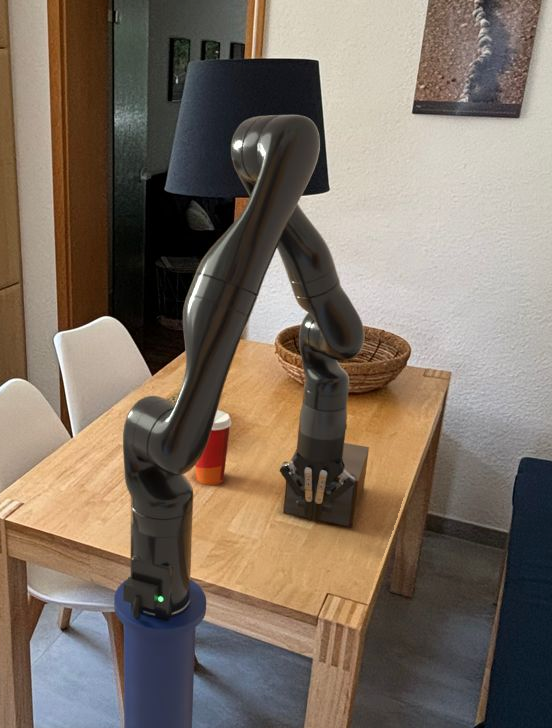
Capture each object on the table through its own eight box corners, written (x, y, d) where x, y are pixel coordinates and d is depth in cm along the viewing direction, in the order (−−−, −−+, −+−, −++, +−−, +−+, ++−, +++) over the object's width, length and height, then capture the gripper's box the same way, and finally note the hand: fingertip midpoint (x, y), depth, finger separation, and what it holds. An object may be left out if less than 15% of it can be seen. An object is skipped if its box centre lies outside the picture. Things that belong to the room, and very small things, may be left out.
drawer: (344, 539, 134) (349, 500, 131) (279, 525, 139) (282, 487, 136) (359, 491, 150) (363, 455, 147) (300, 480, 154) (303, 445, 151)
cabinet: (352, 527, 139) (358, 481, 136) (283, 513, 144) (286, 467, 141) (363, 490, 152) (369, 447, 148) (299, 478, 157) (303, 435, 153)
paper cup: (209, 465, 162) (211, 404, 157) (236, 479, 156) (240, 416, 151) (182, 477, 157) (184, 415, 152) (209, 492, 152) (212, 427, 147)
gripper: (277, 430, 127) (269, 520, 134) (360, 444, 122) (348, 538, 129) (287, 413, 134) (279, 500, 140) (366, 426, 129) (355, 516, 135)
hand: (312, 518), depth 134 cm, fingers closed
